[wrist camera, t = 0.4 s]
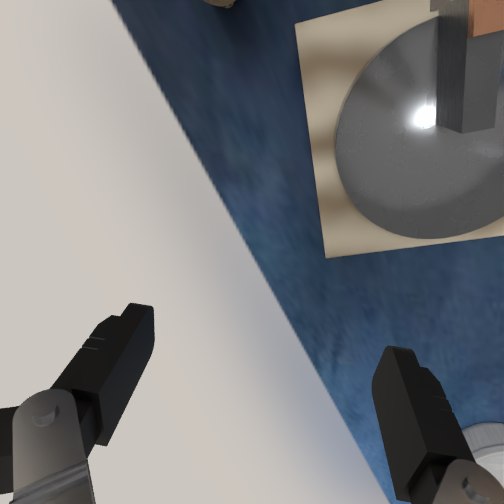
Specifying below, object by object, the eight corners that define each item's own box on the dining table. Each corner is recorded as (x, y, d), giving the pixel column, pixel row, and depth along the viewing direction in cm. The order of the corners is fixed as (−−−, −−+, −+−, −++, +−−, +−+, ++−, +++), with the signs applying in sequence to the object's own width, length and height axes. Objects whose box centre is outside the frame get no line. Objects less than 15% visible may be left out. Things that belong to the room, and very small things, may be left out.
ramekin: (502, 404, 46) (525, 441, 41) (545, 446, 49) (571, 485, 44) (428, 436, 51) (441, 473, 46) (471, 473, 53) (487, 511, 49)
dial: (321, 37, 28) (330, 25, 21) (578, -29, 24) (695, -70, 17) (343, 240, 36) (354, 282, 29) (537, 213, 32) (606, 254, 25)
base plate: (294, 25, 29) (294, 23, 28) (601, -56, 24) (615, -62, 23) (325, 253, 38) (325, 258, 37) (549, 224, 34) (557, 229, 33)
